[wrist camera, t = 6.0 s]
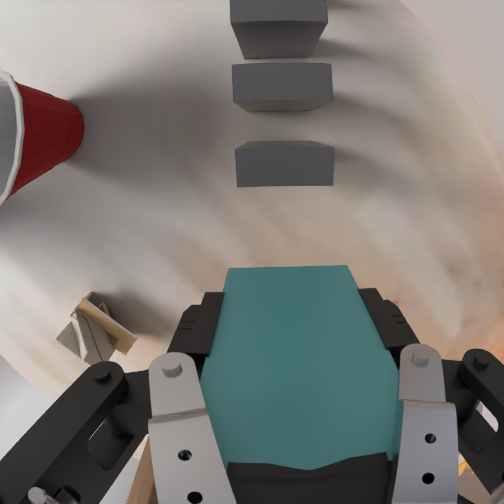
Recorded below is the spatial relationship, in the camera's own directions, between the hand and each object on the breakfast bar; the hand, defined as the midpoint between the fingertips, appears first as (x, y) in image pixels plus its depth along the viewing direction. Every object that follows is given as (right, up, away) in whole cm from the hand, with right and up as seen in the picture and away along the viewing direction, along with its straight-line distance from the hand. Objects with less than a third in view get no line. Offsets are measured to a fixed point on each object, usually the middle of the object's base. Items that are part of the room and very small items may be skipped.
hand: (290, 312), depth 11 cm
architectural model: (-17, -4, +20) cm, 26 cm away
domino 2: (+1, +14, +10) cm, 18 cm away
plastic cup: (-19, +14, +12) cm, 27 cm away
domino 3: (+1, +10, +12) cm, 16 cm away
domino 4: (0, +1, +2) cm, 2 cm away
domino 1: (0, +18, +9) cm, 20 cm away
